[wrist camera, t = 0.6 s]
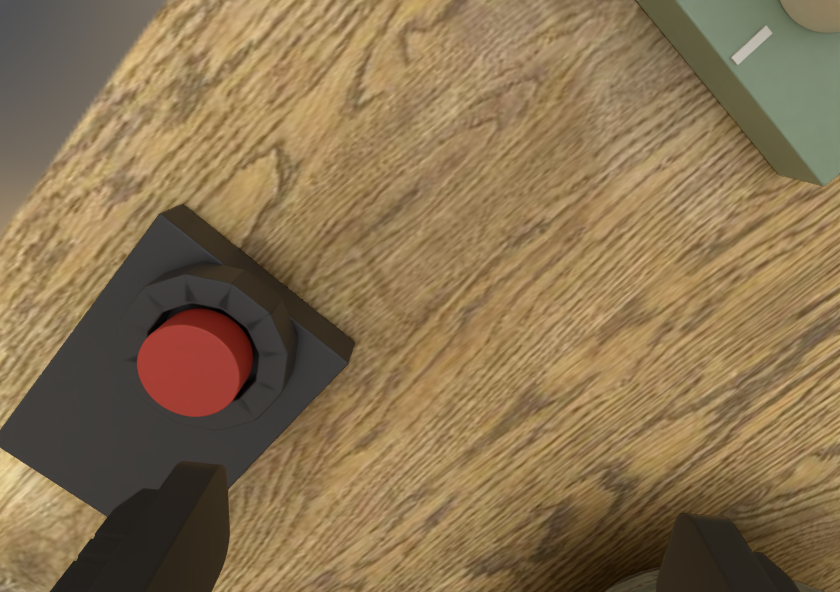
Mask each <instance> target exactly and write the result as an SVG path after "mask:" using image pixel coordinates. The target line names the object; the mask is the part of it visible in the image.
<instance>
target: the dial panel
mask: <svg viewBox="0 0 840 592" xmlns="http://www.w3.org/2000/svg"><path fill="white" fill-rule="evenodd" d="M636 1H637V2H638V3H639V4H640V6H641V7H642V8H643V9H644V11H645V12H646V13H647V14H648V15H649V17H650V18H651V19H652V20H653V22H654V23H655V24H656V25H657V27H658V28H659V29H660V30H661V31H662V33H663V34H664V35H665V36H666V38H667V39H668V40H669V41H670V42H671V44H672V45H673V46H674V47H675V49H676V50H677V51H678V52H679V53H680V55H681V56H682V57H683V58H684V60H685V61H686V62H687V63H688V64H689V66H690V67H691V68H692V69H693V71H694V72H695V73H696V74H697V75H698V77H699V78H700V79H701V80H702V82H703V83H704V84H705V85H706V86H707V88H708V89H709V90H710V91H711V93H712V94H713V95H714V96H715V97H716V99H717V100H718V101H719V102H720V104H721V105H722V106H723V107H724V109H725V110H726V111H727V112H728V113H729V115H730V116H731V117H732V118H733V120H734V121H735V122H736V123H737V124H738V126H739V127H740V128H741V129H742V131H743V132H744V133H745V134H746V135H747V137H748V138H749V139H750V140H751V142H752V143H753V144H754V145H755V146H756V148H757V149H758V150H759V151H760V153H761V154H762V155H763V156H764V157H765V159H766V160H767V161H768V162H769V164H770V165H771V166H772V167H773V168H774V170H775V171H776V172H777V173H778V175H780V176H784V177H788V178H792V179H796V180H800V181H804V182H808V183H812V184H816V185H820V186H825V185H827V184H828V183H829V182H830V181H832V180H833V179H834V178H835V177H837V176H838V175H839V174H840V32H836V33H821V32H816V31H812V30H809V29H807V28H805V27H803V26H801V25H799V24H798V23H797V22H795V21H794V20H793V19H792V18H791V17H790V16H789V15H788V14H787V12H786V11H785V9H784V8H783V6H782V4H781V2H780V0H636Z"/></svg>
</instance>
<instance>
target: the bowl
mask: <svg viewBox="0 0 840 592" xmlns="http://www.w3.org/2000/svg"><path fill="white" fill-rule="evenodd" d="M659 570H660V567H656V568H652V569H649V570H645V571H642V572H638V573H636V574H633V575H631V576H629V577H626V578H624V579H622V580H619V581H618V582H617V583H615V584H614V585H613V586H611V587H610V588H608V589H607V590H606V591H604V592H656V582H657V577H658V573H659ZM793 582H794V583H795V584H796V586H797V587H798V589H799V590H800V592H824V591H821V590H819V589H816V588H814V587H812V586H809V585H807V584H805V583H801V582H798V581H795V580H793Z"/></svg>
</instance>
